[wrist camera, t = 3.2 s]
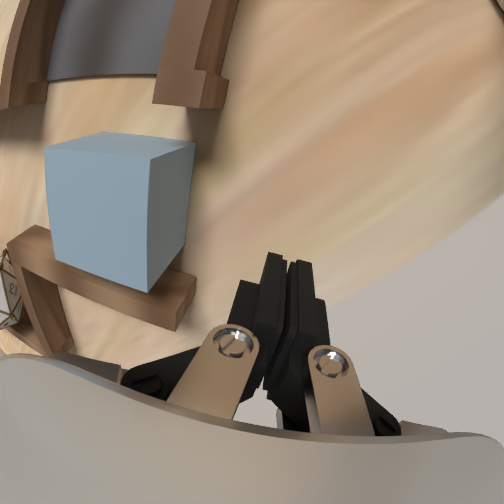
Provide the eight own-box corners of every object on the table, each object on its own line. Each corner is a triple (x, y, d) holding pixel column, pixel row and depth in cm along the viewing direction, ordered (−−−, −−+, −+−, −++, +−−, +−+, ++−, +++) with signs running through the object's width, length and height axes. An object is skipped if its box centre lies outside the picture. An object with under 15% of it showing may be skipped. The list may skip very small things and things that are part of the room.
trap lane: (278, -88, 5) (268, -135, 1) (186, 390, 24) (170, 432, 20) (-10, -2, 6) (-43, -1, 2) (-3, 294, 25) (-25, 315, 21)
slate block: (197, 142, 13) (150, 159, 9) (185, 243, 16) (147, 292, 12) (105, 131, 14) (44, 148, 9) (104, 222, 17) (55, 259, 12)
